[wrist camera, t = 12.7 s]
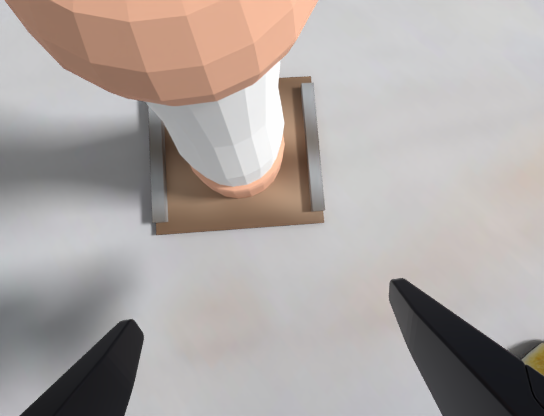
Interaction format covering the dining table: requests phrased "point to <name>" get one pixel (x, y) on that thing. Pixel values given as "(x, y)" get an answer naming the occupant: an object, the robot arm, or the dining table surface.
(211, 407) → the dining table surface
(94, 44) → the pepper shaker
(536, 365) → the bread roll
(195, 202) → the serving tray
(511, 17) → the dining table surface
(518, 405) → the robot arm
